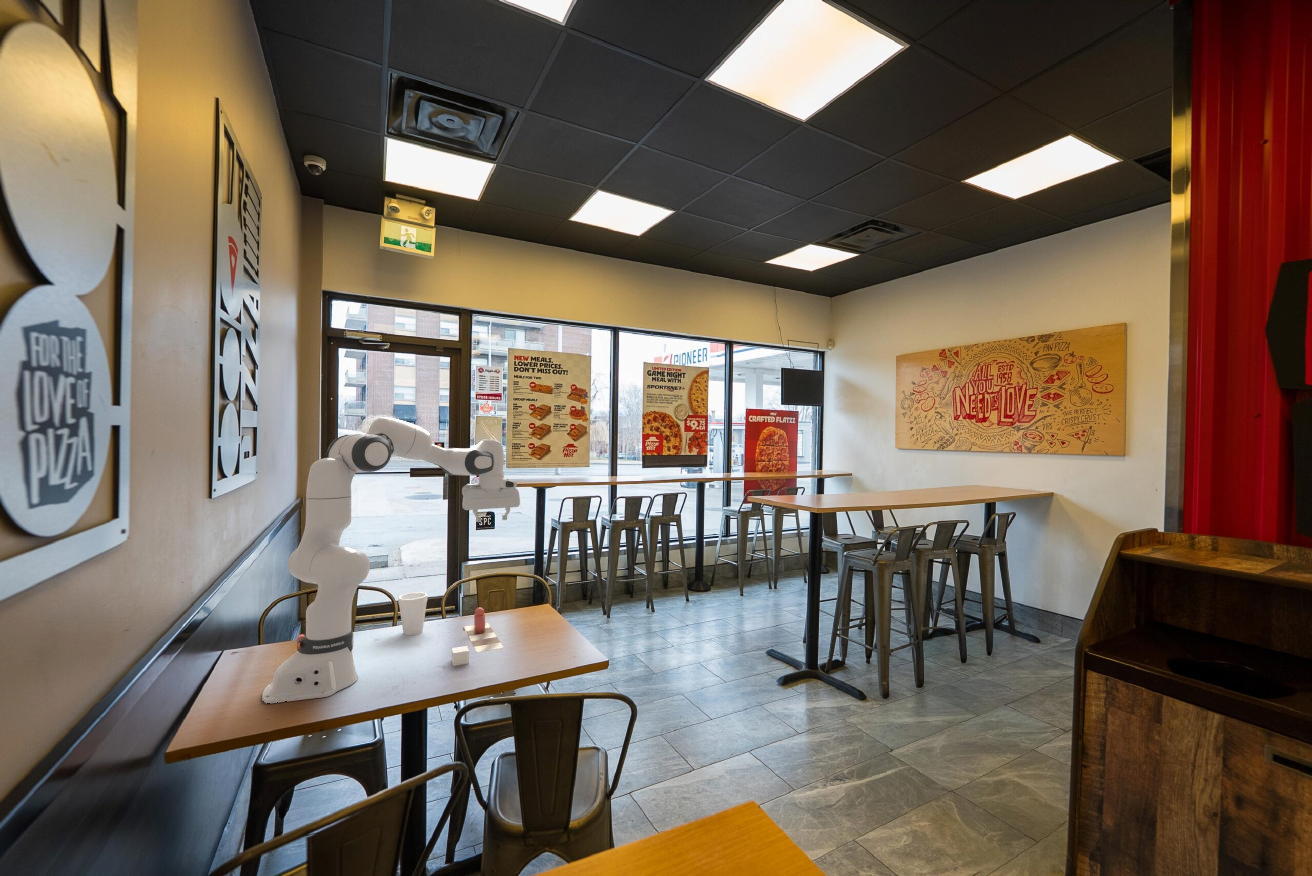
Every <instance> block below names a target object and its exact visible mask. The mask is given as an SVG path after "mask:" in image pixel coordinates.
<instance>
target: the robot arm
mask: <svg viewBox="0 0 1312 876" xmlns="http://www.w3.org/2000/svg"><path fill="white" fill-rule="evenodd" d="M504 454H505V453H504V446H503V443H502V442H501V441H499V440H497V439H493V438H492V439H491V438H482V439H481V440H480V441H479V442H478V443H477V444H475V445H474V446H471V447H469V448H460V447H459V448H457V447H449V448H444V447H442V446H439V445H436V444H434V443H433V439H432V435H431V433H430V432H429V431H428V430H426V429H424V428H423V427H421V426H419V425H416V424H413V423H412V422H411V423H410V422H407V421H405V420H401V419H397V418H392V417H387V416H386V417H385V416H384V417H379V418H377V419H374V421H373V422H372V423H371V424H370V426H369V428H368V431H367V433H366V434H362V433H359V434H357V433H355V434H346V435H345V434H344V435H341V436H338V437H337V438H335V439H334V440H332V442H331V443H330V444H329V445H328V447H327V451H326V453H325V454H324V456H323V458H320V459H317V460H316V461H314V462H313V463H312V464H311V465H310V468H309V473H308V477H307V483H306V493H305V496H306V497H305V499H306V500H305V527H304V531H303V533H302V537H301V540H300V542H299V545H298V547H296V548H295V549H294V550H293V552H292V553H291V554H290V556H289V558H288V561H287V570H288V572H289V573H290V575H291V576H292V577H294V578H296V579H298V580H300V581H302V582H303V583H308V584H315V585H317V592H316V595H315V598H314V601H312V602H311V603H310V604H309V605H308V606H307V608H306V611H305V634H303V633H302V634H299V635H298V636H297V637H296V643H297V645H296V648H297V649H296V650H297V651H296V652H295V653H293V654H292V655H291V656H289V657H288V658H287V659H286V660H284V661H283V662H282V663H281V664H280V665H279V666H278V667H277V669H276V671H275V672H274V675H273V679H272V682H270V683H269V684H268V685H267V686H266V687H265V688H264V689H263V691H262V696H261V699H262V702H263V701H264V702H263V703H265V704H267V703H270V704H276V703H277V702H278V703H285V701H287V702H295V701H302V700H303V701H304V700H311V699H317V698H318V699H319V698H329V697H330V696H332V695H334V694H336V693H337V692H338V691H341V690H343V689H345V688H347V687H349V686H352V685H353V684H354V683H355V682H356V681H357V680H358V678H359V677H358V674H357V671H356V667H355V663H354V656H353V649H354V630H353V629H352V606H353V600H354V597H355V593H356V591H357V588H358V587H359V586H360V585H361V583H363V582H364V581H365V580H366V578H367V577H368V575H369V573H370V570H371V569H370V568H371V562H370V559H369V557H368V555H367V554H366V553H365V552H362V551H360V550H358V549H355V548H352V547H347V546H341V545H340V540H341V537H342V534H343V532H344V530H345V529H347V528H349V526H350V525H351V522H352V482H353V478H354V477H355V475H356V474H357V473H365V472H366V473H373V472H378V471H380V470H382V469H383V468H385V467H386V466H387V465H388V464H389V462H390V460H391V458H392V455H394V456H396V457H399V458H400V457H401V458H404V459H408V460H409V459H410V460H414V461H415V460H417V461H420V460H421V461H426V462H428V463H431V464H434V465H435V466H438V467H439V468H440V469H442V471H444V473H445V474H447V475H449V476H473V477H476V476H478V483H472V484H471V483H467V484H466V485H464V486H462V489H461V495H462V506H461V507H462V509H463V510H465V511H472V513H473V515H474V516H475V522H476V523H481V522H482V520H481V519H482V517H481V516H478V514H477V513H479V512H478V511H479V510H492V509H504V510H505V512H504V514H502V515H501V516H502V518H501V520H502V521H507V520H508V515H509V513H510V512H511V508H518V507H519V506H520V505H521V497H520V492H519V490H518V488H517V487H518V484H517V482H516V481H515V480H510V479H509V478H505V473H504V464H505V459H504V458H505V455H504Z"/></svg>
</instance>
